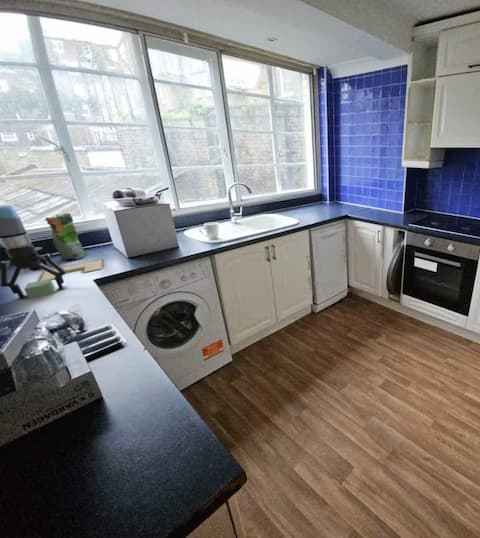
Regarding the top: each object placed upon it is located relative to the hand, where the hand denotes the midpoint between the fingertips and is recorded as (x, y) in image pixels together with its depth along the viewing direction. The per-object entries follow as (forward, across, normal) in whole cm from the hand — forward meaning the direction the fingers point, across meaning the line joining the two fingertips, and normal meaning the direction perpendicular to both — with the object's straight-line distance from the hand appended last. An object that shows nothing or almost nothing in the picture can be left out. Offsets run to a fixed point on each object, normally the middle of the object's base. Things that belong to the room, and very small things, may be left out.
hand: (43, 294), depth 124 cm
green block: (0, 0, 0) cm, 0 cm away
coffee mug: (0, +6, -45) cm, 45 cm away
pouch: (0, -7, -53) cm, 53 cm away
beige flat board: (0, -8, -26) cm, 27 cm away
